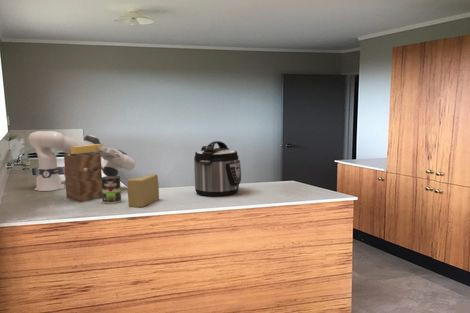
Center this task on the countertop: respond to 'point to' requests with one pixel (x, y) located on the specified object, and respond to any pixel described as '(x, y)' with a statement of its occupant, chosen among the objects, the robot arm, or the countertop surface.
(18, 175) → the countertop surface
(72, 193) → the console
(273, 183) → the countertop surface
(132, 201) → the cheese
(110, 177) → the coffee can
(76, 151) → the lever bar
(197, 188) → the pressure cooker
